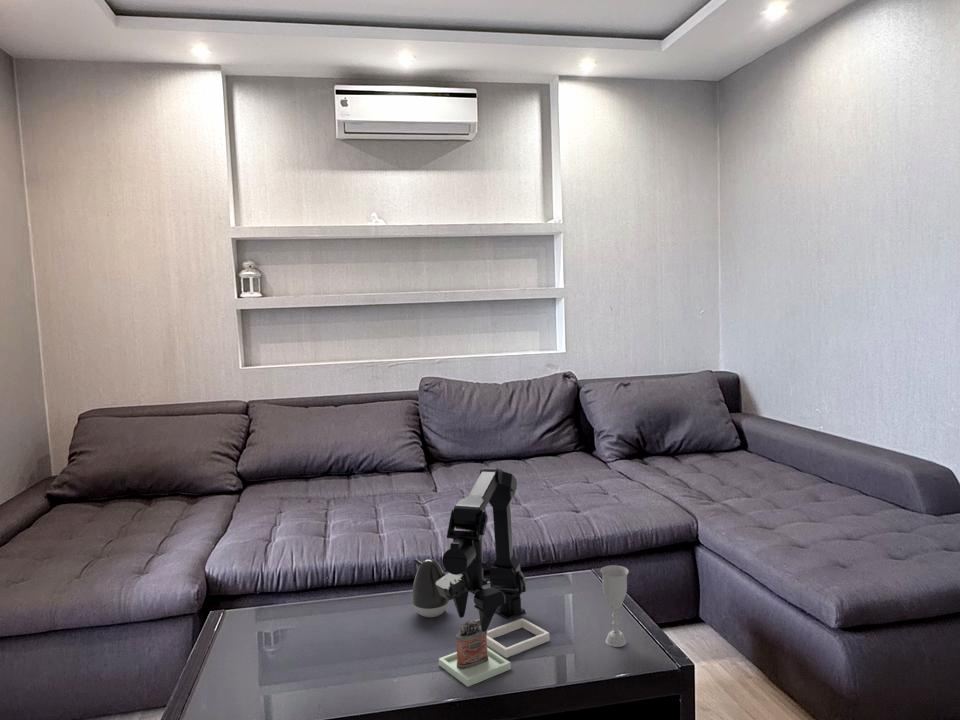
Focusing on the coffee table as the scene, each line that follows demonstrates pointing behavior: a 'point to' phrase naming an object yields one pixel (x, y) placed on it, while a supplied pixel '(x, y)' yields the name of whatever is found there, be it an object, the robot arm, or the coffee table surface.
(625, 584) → the chalice
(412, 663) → the coffee table surface
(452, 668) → the tray
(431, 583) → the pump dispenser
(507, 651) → the white picture frame
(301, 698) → the coffee table surface
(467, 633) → the lighter
